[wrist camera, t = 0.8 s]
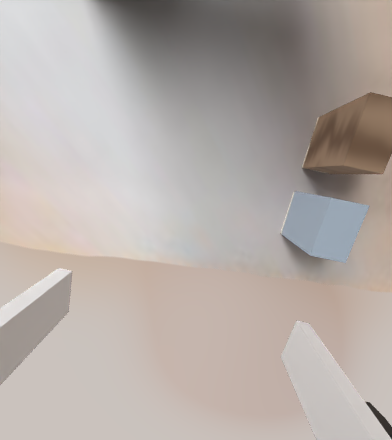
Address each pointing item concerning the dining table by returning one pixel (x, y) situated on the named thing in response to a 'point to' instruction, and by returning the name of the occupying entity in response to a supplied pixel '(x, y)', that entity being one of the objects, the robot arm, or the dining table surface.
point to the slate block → (323, 225)
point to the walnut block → (353, 138)
